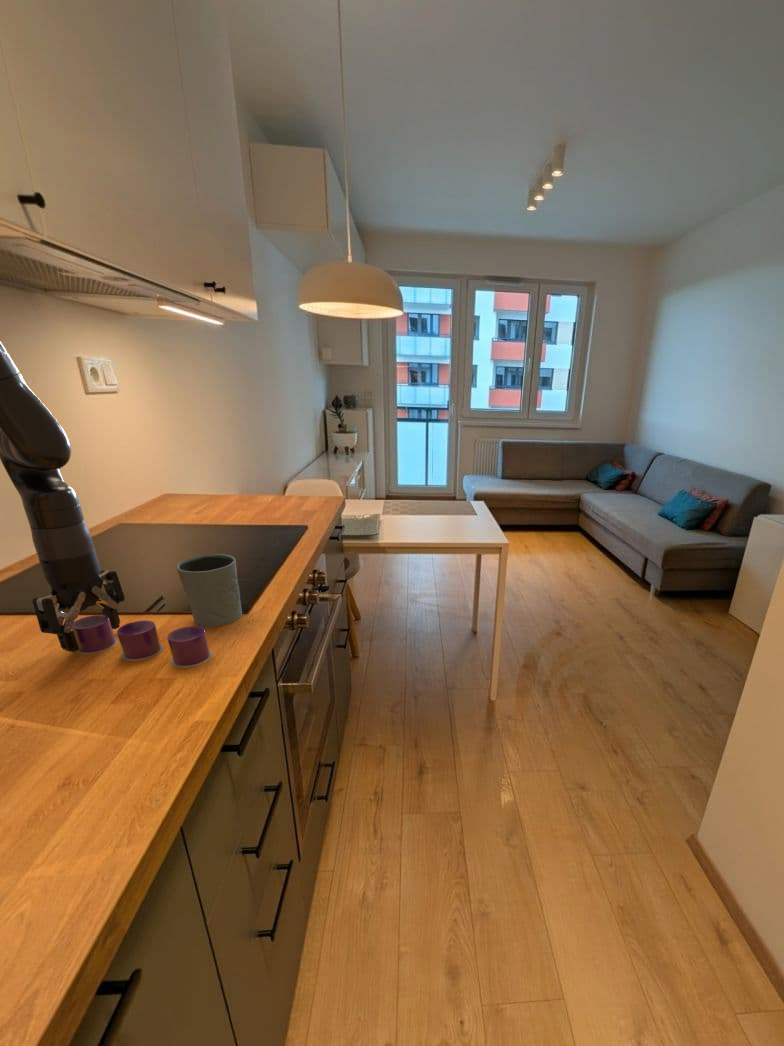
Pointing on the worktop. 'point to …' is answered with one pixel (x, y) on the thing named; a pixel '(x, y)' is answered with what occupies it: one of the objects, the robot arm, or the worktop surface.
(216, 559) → the grey cylindrical pot
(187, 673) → the worktop surface
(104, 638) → the purple cylinder
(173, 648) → the purple canister
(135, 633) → the small purple cup
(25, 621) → the worktop surface
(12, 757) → the worktop surface
